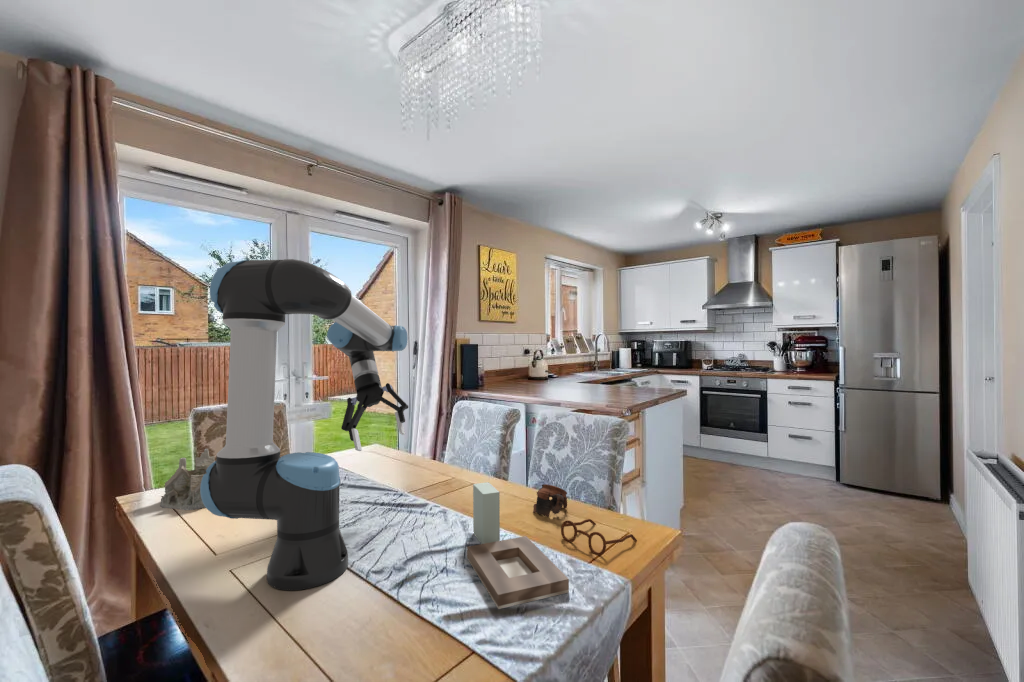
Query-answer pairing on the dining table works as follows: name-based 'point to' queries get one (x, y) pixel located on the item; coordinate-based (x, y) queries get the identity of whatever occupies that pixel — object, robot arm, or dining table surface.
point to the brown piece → (546, 504)
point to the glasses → (570, 523)
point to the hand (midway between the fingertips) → (380, 442)
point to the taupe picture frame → (516, 571)
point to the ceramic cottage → (186, 485)
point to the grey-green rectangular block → (486, 512)
